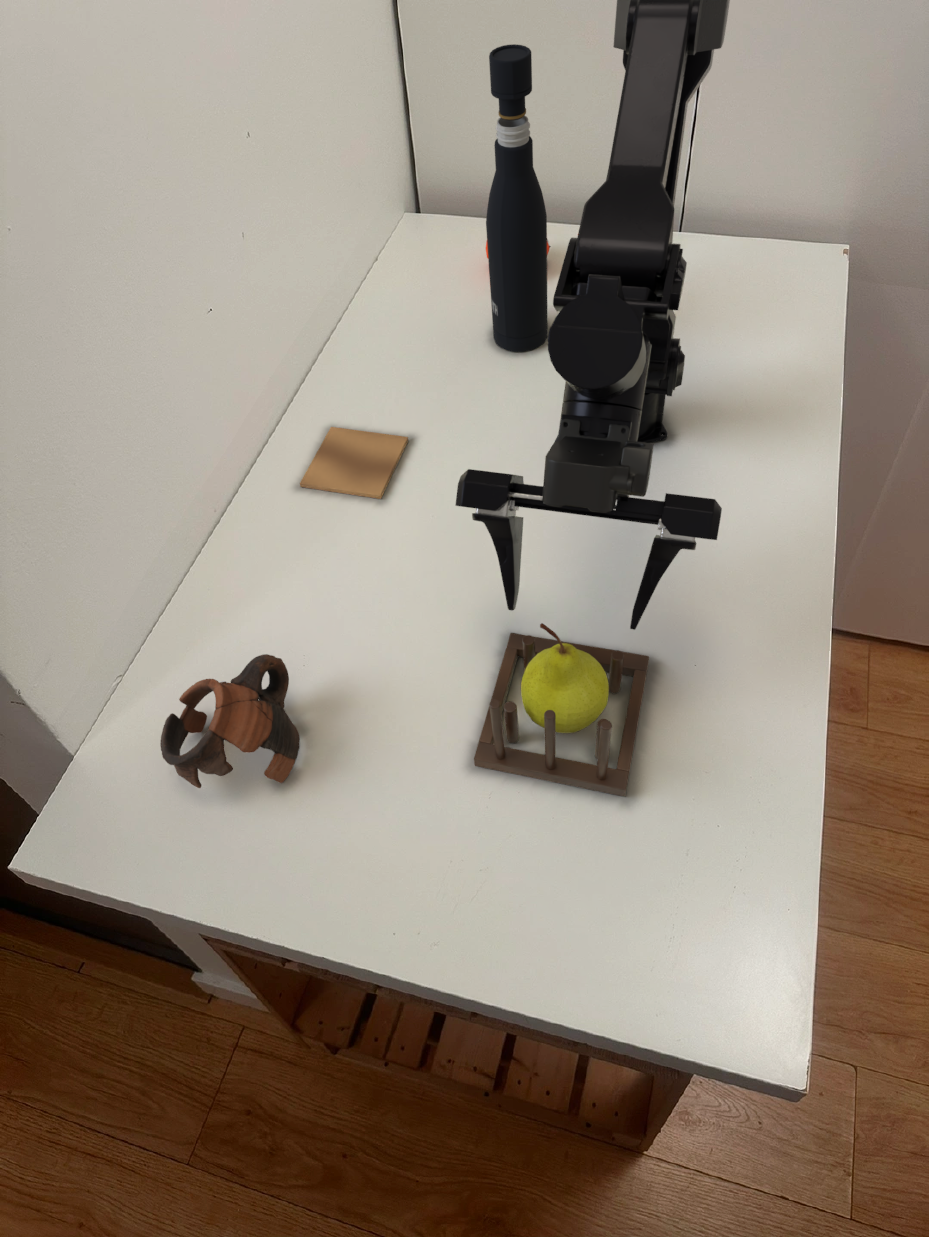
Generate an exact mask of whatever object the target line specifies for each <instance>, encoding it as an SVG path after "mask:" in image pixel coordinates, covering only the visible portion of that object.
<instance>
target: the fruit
mask: <svg viewBox="0 0 929 1237" xmlns="http://www.w3.org/2000/svg"><path fill="white" fill-rule="evenodd" d="M539 628H540V629H543V630H544V631H546V632H547V633H548V634H549V635H551V636H552V638H554V639H555V640H557V641H558V642H559V644H556V645H554V646H553V647H552V648H548V649H544V650H543V651H541V652H540V653H538V654H537V655H536V656H535V657H534V658H533V659H532V660H531V661H530V662H529V664H528V665H527V667H526V669H525V672H524V671H523V674H522V678H521V684H520V695H521V702H522V705H523V709H524V712H525V713H526V714H527V716H528V717H529V718H530V720H531V721H532V722H533V723H535V724H536V725H537V726H539V727H541V728H543V729H544V713H545V712H546V711H547V710H553V711H554V712H555V715H556V733H558V734H574V733H576V732H580V731H582V730H584V729H585V728H587V727H589V726H591V725H592V724H593V723H594V722H595V721H596V720H597V719H598V718H599V717H600V715H601V714H602V713H603V712H604V711H605V709H606V707H607V705H608V701H609V693H610V691H609V678H608V675H607V672H605V671H604V669H603V668H602V666H601V665H600V663H599V662H598V661H597V660H596V659H595V658H594V657H592V656H591V655H590V654H588V653H586V652H584V651H581V650H578V649H576V648H575V647H574V646H573V645H571V644H567V643H562V642H561V641H562V640H561V638H560V637H559V636H558V635H557V633H556V632H555V631H554V630H552V629H551V628H549V627H548V626H547V625H545V623H540V624H539Z"/></svg>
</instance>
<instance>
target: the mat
mask: <svg viewBox="0 0 929 1237" xmlns="http://www.w3.org/2000/svg"><path fill="white" fill-rule="evenodd" d="M409 441H410V440H409V436H403V435H395V434H388V433H381V432H373V431H366V430H357V429H351V428H344V427H343V428H342V427H336V426H330V428H329V429H328V431H327V433H326V435H325V437H324V438H323V441H322V442H321V444H320V446H319V447H318V450H317V451H316V453H315V455H314V457H313V459H312V460H311V462H310V463H309V466H308V468H307V469H306V471H305V473H304V475H303V476H302V477H301V478H302V479H301V480H300V482H299V487H300V488H306V489H311V490H312V489H313V490H319V491H326V492H331V493H332V492H333V493H339V494H346V495H352V496H359V497H363V498H364V497H365V498H372V499H378V500H381V499H382V498H383V496H384V494H385V491H386V490H387V487H388V485H389V483H390V481H391V478H392V477H393V475H394V472H395V470H396V468H397V466H398V464H399V461H400V460H401V457H402V456H403V453H404V452H405V449H406V447H407V446H408V443H409Z"/></svg>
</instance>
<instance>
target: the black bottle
mask: <svg viewBox="0 0 929 1237" xmlns="http://www.w3.org/2000/svg"><path fill="white" fill-rule="evenodd" d="M488 58H489V59H488V62H489V64H488V65H489V81H490V94H491V95H492V97H493V98H495V99H498V117H499V118H498V119H497V120H496V125H495V130H496V135H495V137H496V139H495V141H494V145H493V146H494V161H495V162H494V164H495V172H494V175H493V179H492V182H491V186H490V190H489V195H488V196H489V197H488V200H487V201H488V202H487V208H486V217H485V218H486V219H485V227H486V228H485V230H486V241H487V245H488V258H487V260H488V272H489V273H488V274H489V275H488V276H489V288H490V290H489V292H490V304H491V316H492V317H491V320H492V334H493V340H494V343H495V344H496V346H498V347H499V348H501V349H503V350H505V351H507V352H511V353H525V352H530V351H533V350H536V349H538V348H540V347H541V346H542V345H543V344H545V343H546V341H547V340H548V334H549V331H548V327H549V326H548V324H549V323H548V256H547V239H548V220H547V219H548V216H547V210H546V204H545V199H544V194H543V191H542V187H541V184H540V182H539V180H538V177H537V174H536V171H535V168H534V148H533V146H534V145H533V144H534V143H533V142H534V141H533V138H532V137H531V131H530V129H531V123H530V122H529V118H528V116H526V115H527V108H526V97H527V96H528V95H530V94H531V93H532V91H533V73H532V72H533V68H532V67H533V66H532V60H533V59H532V50H531V49H530V47H528V46H526V45H524V44H523V45H522V44H505V45H500V46H497V47H495V48H494V49H492V50H491V51H490V52H489V55H488Z"/></svg>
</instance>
